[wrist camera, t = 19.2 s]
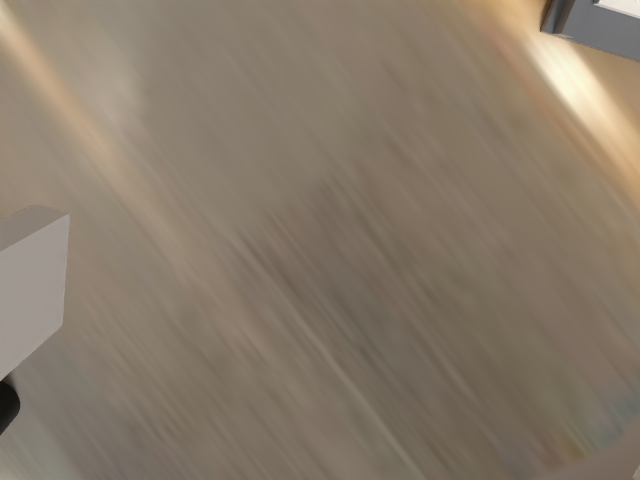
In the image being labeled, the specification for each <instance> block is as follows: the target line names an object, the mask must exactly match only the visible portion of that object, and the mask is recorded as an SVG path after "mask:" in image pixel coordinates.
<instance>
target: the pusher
mask: <svg viewBox="0 0 640 480" xmlns="http://www.w3.org/2000/svg"><path fill="white" fill-rule="evenodd" d="M593 5H596V6H600V7H603V8H606V9H609V10H613V11H616V12H619V13H622V14H626V15H629V16H632V17H636V18H639V19H640V0H594V3H593Z"/></svg>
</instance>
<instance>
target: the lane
mask: <svg viewBox="0 0 640 480" xmlns="http://www.w3.org/2000/svg"><path fill="white" fill-rule="evenodd" d="M593 3H594V0H552V3H551V5H550V8H549V10H548V12H547V15H546V17H545V20H544V22H543V25H542V27H541V30H540V32H543V33H546V34H549V35H552V36H556V37H559V38H562V39H565V40H569V41H572V42H575V43H578V44H582V45H585V46H588V47H591V48H595V49H598V50H601V51H605V52H608V53H611V54H614V55H618V56H621V57H624V58H627V59H631V60H634V61H637V62H640V19H639V18H636V17H632V16H629V15H626V14H622V13H619V12H616V11H613V10H609V9H606V8H603V7H600V6H596V5H593Z"/></svg>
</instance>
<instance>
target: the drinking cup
mask: <svg viewBox="0 0 640 480" xmlns="http://www.w3.org/2000/svg"><path fill="white" fill-rule="evenodd" d="M19 409H20V402H19V399H18V396H17V395H16V393H15V392H14V390H13V389H12V388H11V387H10V386H8V385H7V384H5V383H4V382H2V381H0V435H1V434H2V433H3V432H4V430H5V429H6V428H7V427H8V426H9V424H10V423H11V422H12V421H13V419H14V418H15V417H16V416H17V414H18V412H19Z"/></svg>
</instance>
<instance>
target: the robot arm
mask: <svg viewBox="0 0 640 480" xmlns="http://www.w3.org/2000/svg"><path fill="white" fill-rule="evenodd" d="M69 218H70V213H69V212H65V211H61V210H57V209H53V208H49V207H46V206H42V205H38V204H33V205H31V206H29V207H27V208H24V209H22V210H20V211H18V212H16V213H14V214H12V215H10V216H8V217H6V218H4V219H1V220H0V381H1V380H2V379H3V378H4V377H5V376H6V375H8V374H9V373H10V372H11V371H12V370H13V369H14V368H15V367H17V366H18V365H19V364H20V363H21V362H22V361H23V360H24V359H25V358H27V357H28V356H29V355H30V354H31V353H32V352H33V351H34V350H36V349H37V348H38V347H39V346H40V345H41V344H42V343H43V342H44V341H46V340H47V339H48V338H49V337H50V336H51V335H52V334H53V333H54V332H56V331H57V330H58V329H59V328H60V327H61V326H62V323H63V308H64V293H65V278H66V263H67V248H68V233H69ZM633 478H634V480H640V465H639V466H638V468H637V470H636V472H635V474H634V475H633Z"/></svg>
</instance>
